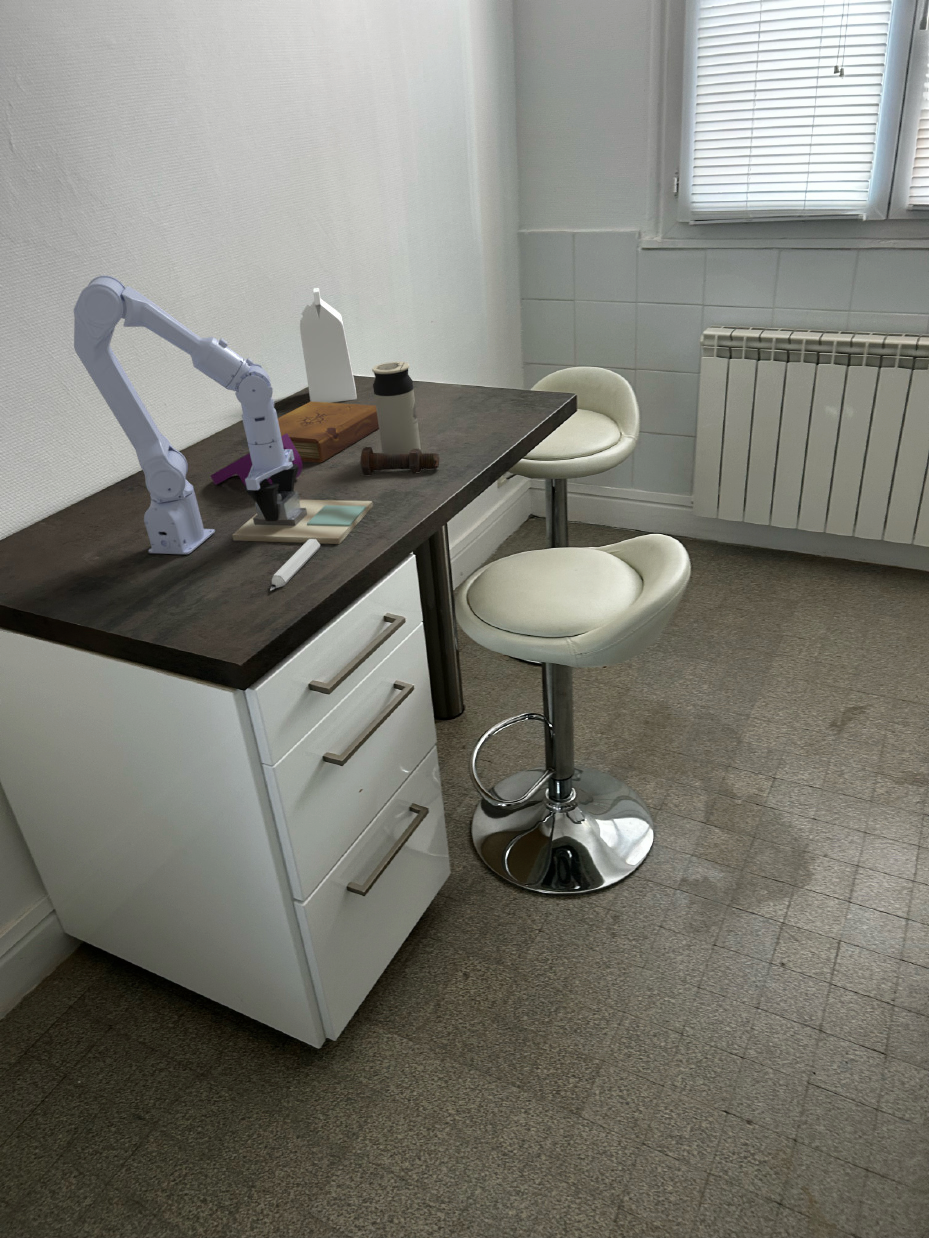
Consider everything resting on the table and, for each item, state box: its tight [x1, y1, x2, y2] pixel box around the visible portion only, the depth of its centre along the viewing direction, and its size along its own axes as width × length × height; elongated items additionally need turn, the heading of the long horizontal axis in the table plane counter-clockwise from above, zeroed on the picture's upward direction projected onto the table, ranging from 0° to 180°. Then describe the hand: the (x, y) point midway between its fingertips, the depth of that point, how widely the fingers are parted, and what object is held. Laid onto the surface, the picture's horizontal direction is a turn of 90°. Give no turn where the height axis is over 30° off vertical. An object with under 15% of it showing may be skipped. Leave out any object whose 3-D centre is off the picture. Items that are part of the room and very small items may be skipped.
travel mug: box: [371, 361, 422, 454], centre depth 186 cm, size 8×8×18 cm
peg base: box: [253, 492, 307, 526], centre depth 161 cm, size 5×8×5 cm, turn 74°
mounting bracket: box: [209, 433, 303, 486], centre depth 182 cm, size 9×8×18 cm
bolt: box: [360, 446, 440, 476], centre depth 180 cm, size 6×5×15 cm
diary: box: [277, 401, 379, 464], centre depth 201 cm, size 23×19×6 cm
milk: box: [299, 287, 358, 403], centre depth 228 cm, size 12×12×26 cm
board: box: [231, 499, 374, 545], centre depth 162 cm, size 16×20×1 cm
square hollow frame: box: [254, 490, 301, 520], centre depth 161 cm, size 6×6×3 cm
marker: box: [269, 539, 321, 591], centre depth 146 cm, size 3×2×16 cm
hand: (279, 513), depth 162 cm, fingers closed on square hollow frame, 6 cm apart
